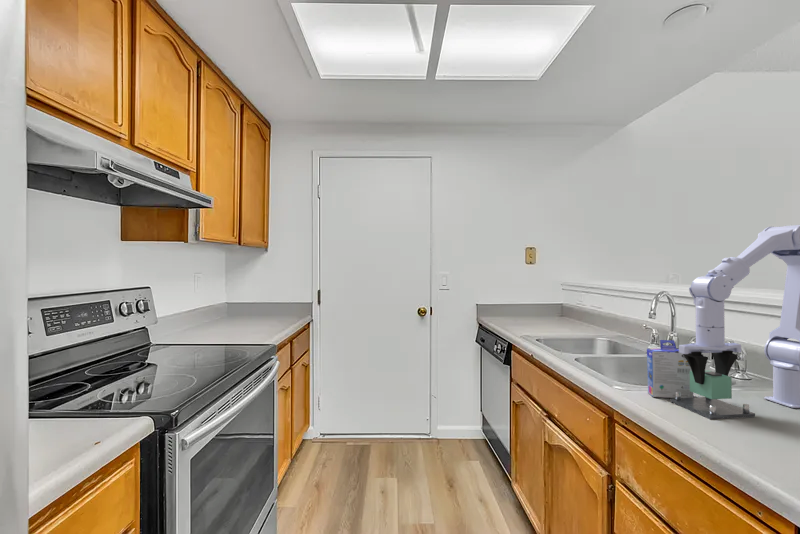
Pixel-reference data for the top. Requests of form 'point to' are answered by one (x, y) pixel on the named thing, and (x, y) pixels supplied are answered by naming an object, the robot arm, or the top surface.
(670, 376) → the ink cartridge box
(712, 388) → the block
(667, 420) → the top surface
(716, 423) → the top surface
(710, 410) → the chassis
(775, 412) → the top surface
